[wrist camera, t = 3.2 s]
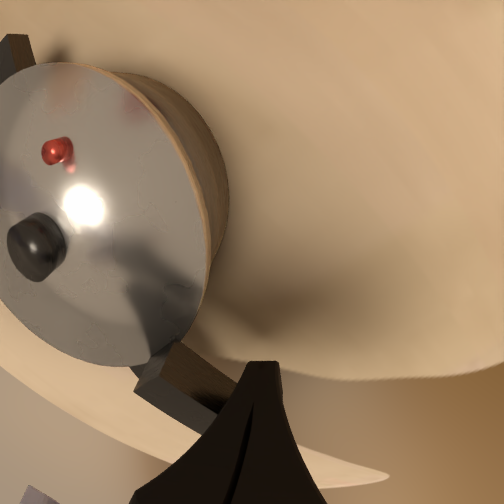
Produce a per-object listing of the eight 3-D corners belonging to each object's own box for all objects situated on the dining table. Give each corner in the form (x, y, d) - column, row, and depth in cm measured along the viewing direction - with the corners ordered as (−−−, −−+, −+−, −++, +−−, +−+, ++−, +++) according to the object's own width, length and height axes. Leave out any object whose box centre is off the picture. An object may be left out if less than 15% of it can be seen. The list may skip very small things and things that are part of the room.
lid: (135, 425, 17) (121, 458, 15) (-49, 189, 11) (-82, 208, 8) (335, 389, 13) (338, 440, 11) (88, -9, 6) (36, -25, 4)
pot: (95, 355, 22) (70, 395, 18) (9, 72, 12) (-45, 79, 8) (256, 369, 20) (247, 425, 16) (203, -11, 10) (166, -49, 6)
